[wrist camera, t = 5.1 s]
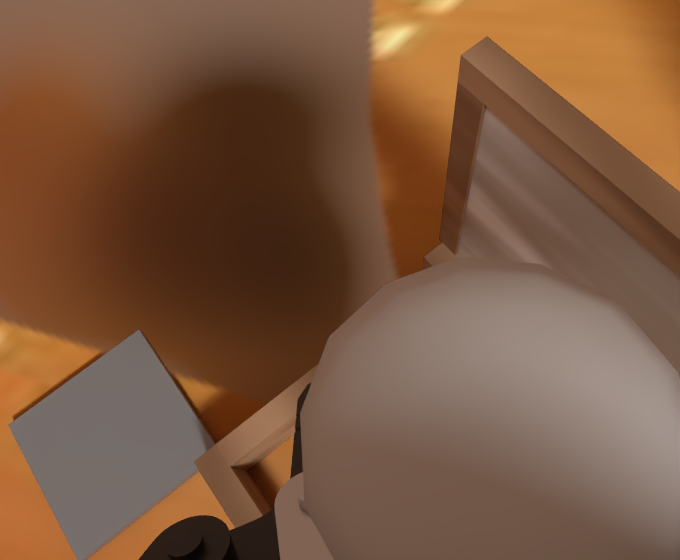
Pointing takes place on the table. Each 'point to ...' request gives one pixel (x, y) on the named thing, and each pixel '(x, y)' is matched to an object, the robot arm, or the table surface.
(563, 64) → the table surface
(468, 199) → the frame
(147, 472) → the plate
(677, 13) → the table surface
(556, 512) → the salt shaker
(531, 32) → the table surface
